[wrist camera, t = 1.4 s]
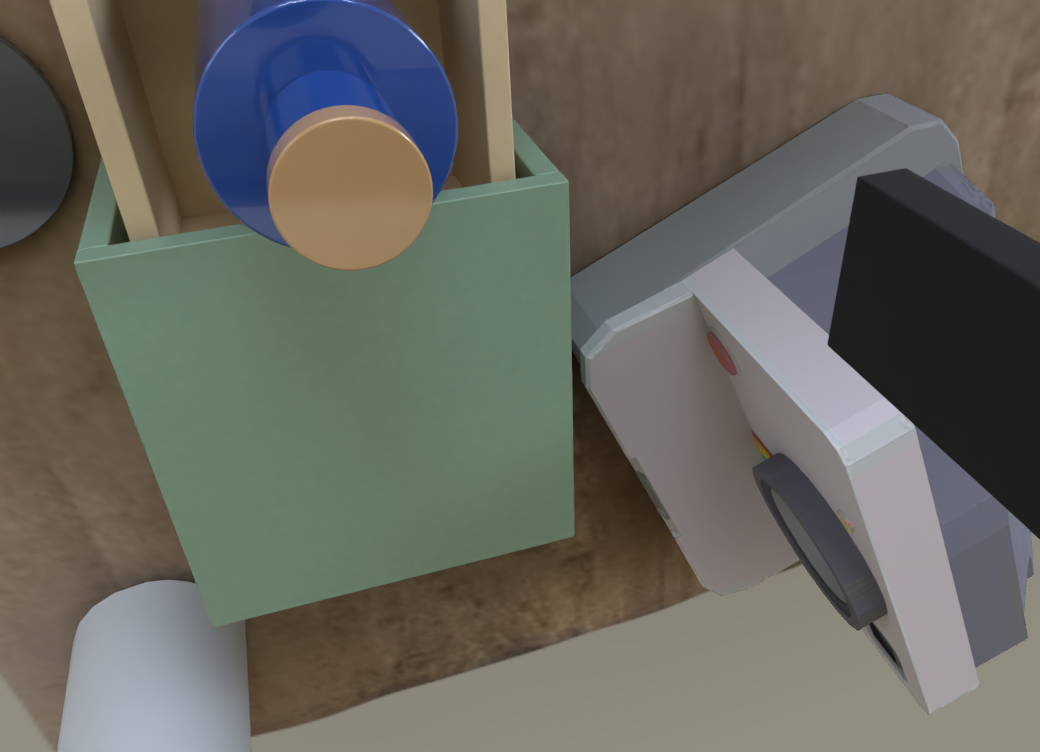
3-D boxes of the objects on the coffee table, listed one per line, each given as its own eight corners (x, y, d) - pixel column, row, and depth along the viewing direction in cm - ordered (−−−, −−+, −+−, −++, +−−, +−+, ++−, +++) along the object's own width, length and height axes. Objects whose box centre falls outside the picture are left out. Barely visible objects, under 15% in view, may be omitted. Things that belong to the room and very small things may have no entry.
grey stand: (519, 244, 36) (673, 476, 24) (968, 50, 37) (1324, 183, 25) (629, 559, 49) (765, 810, 37) (960, 409, 50) (1193, 607, 38)
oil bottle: (175, -80, 25) (149, 63, 13) (358, -97, 26) (489, 21, 14) (220, 102, 28) (232, 354, 16) (382, 80, 29) (508, 301, 17)
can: (53, 588, 39) (4, 852, 30) (227, 551, 41) (235, 788, 31) (102, 693, 43) (74, 952, 34) (259, 655, 45) (273, 892, 36)
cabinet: (102, 149, 30) (72, 262, 23) (493, 94, 33) (569, 180, 26) (210, 474, 38) (213, 628, 31) (513, 409, 41) (575, 537, 34)
